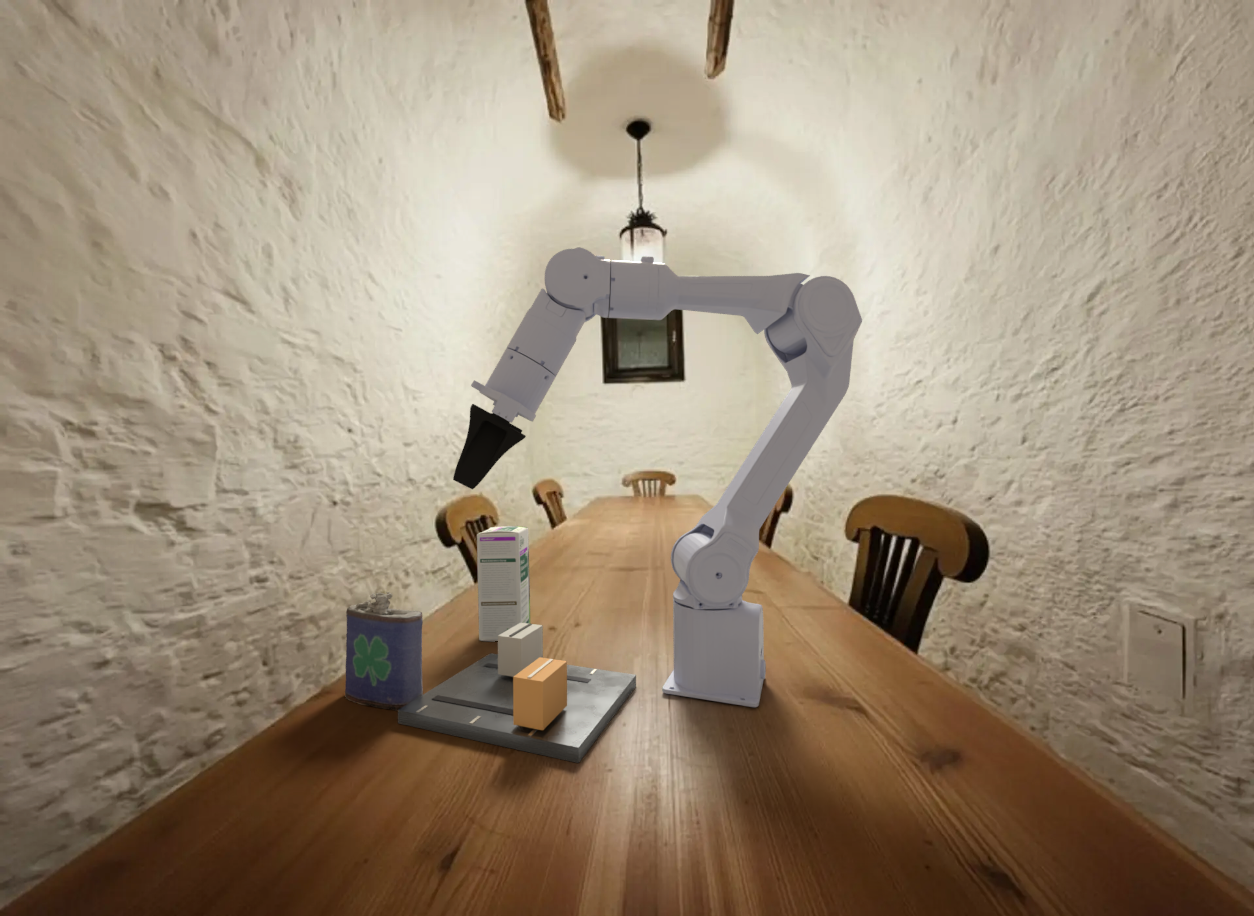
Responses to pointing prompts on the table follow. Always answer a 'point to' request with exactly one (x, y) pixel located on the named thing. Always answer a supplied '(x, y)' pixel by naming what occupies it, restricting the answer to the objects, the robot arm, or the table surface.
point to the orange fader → (539, 693)
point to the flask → (383, 654)
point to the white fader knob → (519, 648)
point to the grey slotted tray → (486, 709)
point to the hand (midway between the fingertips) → (465, 479)
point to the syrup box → (502, 580)
